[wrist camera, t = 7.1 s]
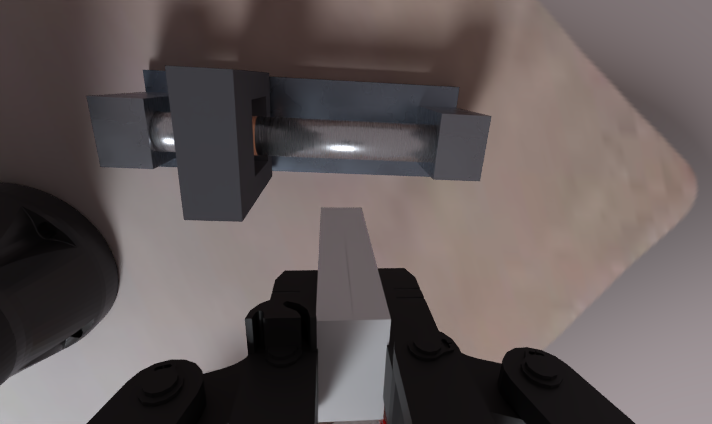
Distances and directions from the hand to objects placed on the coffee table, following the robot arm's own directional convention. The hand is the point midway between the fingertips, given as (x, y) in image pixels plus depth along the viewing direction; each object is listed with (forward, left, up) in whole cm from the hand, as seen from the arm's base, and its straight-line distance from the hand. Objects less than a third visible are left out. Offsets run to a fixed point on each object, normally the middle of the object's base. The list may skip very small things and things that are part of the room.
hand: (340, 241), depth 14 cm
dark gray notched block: (-7, +2, -15) cm, 17 cm away
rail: (-3, +2, -17) cm, 17 cm away
